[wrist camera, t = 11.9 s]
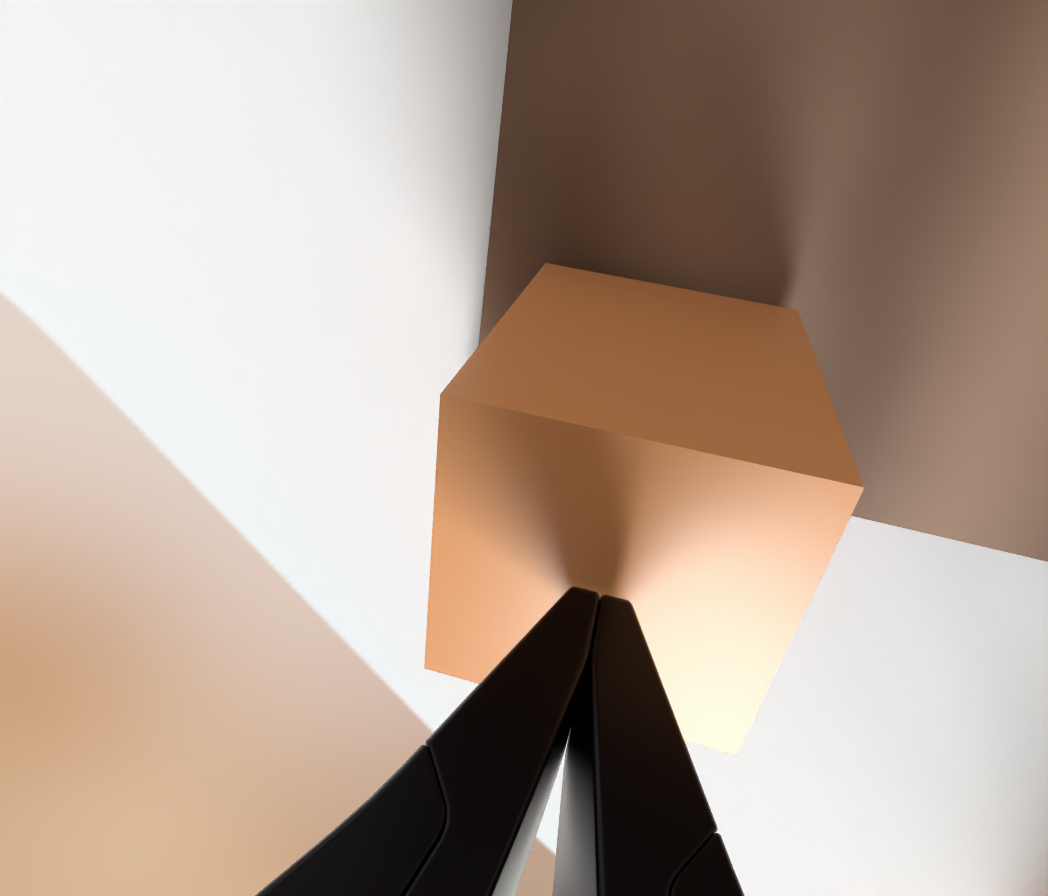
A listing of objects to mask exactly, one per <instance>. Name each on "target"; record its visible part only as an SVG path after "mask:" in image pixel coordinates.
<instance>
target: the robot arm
mask: <svg viewBox="0 0 1048 896" xmlns="http://www.w3.org/2000/svg"><path fill="white" fill-rule="evenodd" d="M568 736H569V737H568ZM567 740H568V742H567ZM566 743H567V748H566V754H565V763H564V771H563V783H562V794H561V805H560V816H559V828H558V839H557V850H556V862H555V873H554V884H553V896H744V893H743V891H742V888H741V886H740V883H739V881H738V879H737V876H736V874H735V871H734V869H733V866H732V864H731V861H730V858H729V856H728V853H727V851H726V848H725V845H724V843H723V840H722V837H721V835H720V834H718V833H716V832H717V825H716V822H715V820H714V817H713V815H712V812H711V809H710V807H709V804H708V802H707V799H706V796H705V794H704V791H703V788H702V786H701V783H700V781H699V778H698V775H697V773H696V770H695V767H694V765H693V762H692V760H691V757H690V754H689V752H688V749H687V747H686V744H685V741H684V739H683V736H682V733H681V731H680V728H679V726H678V723H677V720H676V718H675V715H674V712H673V710H672V707H671V705H670V702H669V699H668V697H667V694H666V691H665V689H664V686H663V684H662V681H661V678H660V676H659V673H658V671H657V668H656V665H655V663H654V660H653V657H652V655H651V652H650V650H649V647H648V644H647V642H646V639H645V636H644V634H643V631H642V629H641V626H640V623H639V621H638V618H637V615H636V613H635V610H634V608H633V605H632V603H631V602H630V601H628V600H626V599H622V598H618V597H614V596H610V595H606V594H605V595H602V596H601V598H600V596H599V594H598V593H597V592H595V591H591V590H587V589H583V588H580V587H576V586H574V587H571V588H569V589H568V590H567V591H566V592H565V593H564V594H563V595H562V596H561V598H560V599H559V600H558V601H557V602H556V603H555V604H554V605H553V606H552V607H551V608H550V609H549V610H548V611H547V612H546V614H545V615H544V616H543V617H542V618H541V619H540V620H539V621H538V622H537V623H536V624H535V625H534V626H533V627H532V628H531V629H530V631H529V632H528V633H527V634H526V635H525V636H524V637H523V638H522V639H521V640H520V641H519V642H518V643H517V644H516V645H515V647H514V648H513V649H512V650H511V651H510V652H509V653H508V654H507V655H506V656H505V657H504V658H503V659H502V660H501V661H500V663H499V664H498V665H497V666H496V667H495V668H494V669H493V670H492V671H491V672H490V673H489V674H488V675H487V676H486V677H485V679H484V680H483V681H482V682H481V683H480V684H479V685H478V686H477V687H476V688H475V689H474V690H473V691H472V692H471V693H470V694H469V696H468V697H467V698H466V699H465V700H464V701H463V702H462V703H461V704H460V705H459V706H458V707H457V708H456V709H455V710H454V712H453V713H452V714H451V715H450V716H449V717H448V718H447V719H446V720H445V721H444V722H443V723H442V724H441V725H440V726H439V728H438V729H437V730H436V731H435V732H434V733H433V734H432V735H431V736H430V737H429V738H428V739H427V741H426V745H422V746H420V747H419V748H418V749H417V751H416V752H415V753H414V754H413V755H412V756H411V757H410V758H409V759H408V760H407V761H406V762H405V763H404V764H403V765H402V767H401V768H400V769H399V770H398V771H397V772H396V773H395V774H394V775H393V776H392V777H390V778H389V779H388V780H387V782H385V783H384V784H383V785H382V786H381V787H380V788H379V789H378V790H377V791H376V792H375V793H374V794H373V795H372V796H371V797H370V798H369V799H368V800H367V801H366V802H365V803H364V804H363V805H361V806H360V807H359V808H358V809H357V810H356V811H355V812H354V813H352V814H351V815H350V816H349V817H348V818H347V819H346V820H345V821H343V822H342V823H341V824H340V825H339V826H338V827H337V828H335V829H334V830H333V831H332V832H331V833H330V834H328V835H327V836H326V837H325V838H324V839H322V840H321V841H320V842H319V843H318V844H316V846H314V847H313V848H312V849H310V850H309V851H308V852H307V853H306V854H305V855H303V856H302V857H301V858H300V859H299V860H297V861H296V862H295V863H294V864H293V865H291V866H290V867H289V868H288V869H287V870H286V871H284V872H283V873H282V874H281V875H280V876H278V877H277V878H276V879H275V880H273V881H272V882H271V883H270V884H269V885H267V886H266V887H265V888H264V889H263V890H262V891H260V892H259V893H258V894H257V895H256V896H515V894H516V891H517V888H518V885H519V882H520V879H521V876H522V874H523V871H524V867H525V864H526V862H527V859H528V856H529V853H530V851H531V848H532V845H533V842H534V839H535V836H536V833H537V830H538V828H539V825H540V822H541V819H542V816H543V813H544V810H545V807H546V805H547V802H548V799H549V796H550V793H551V790H552V787H553V784H554V782H555V779H556V776H557V773H558V770H559V767H560V764H561V761H562V757H563V754H564V751H565V747H566Z"/></svg>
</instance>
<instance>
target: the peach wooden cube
mask: <svg viewBox="0 0 1048 896" xmlns="http://www.w3.org/2000/svg"><path fill="white" fill-rule="evenodd" d="M863 490H864V485H863V482H862V480H861V477H860V474H859V472H858V469H857V466H856V464H855V461H854V459H853V456H852V453H851V451H850V448H849V445H848V443H847V440H846V437H845V435H844V432H843V429H842V427H841V424H840V422H839V419H838V416H837V414H836V411H835V408H834V406H833V403H832V400H831V398H830V395H829V392H828V390H827V387H826V385H825V382H824V379H823V377H822V374H821V371H820V369H819V366H818V363H817V361H816V358H815V355H814V353H813V350H812V348H811V345H810V342H809V340H808V337H807V334H806V332H805V329H804V326H803V324H802V321H801V318H800V316H799V313H798V311H797V310H795V309H790V308H784V307H779V306H773V305H768V304H763V303H757V302H752V301H747V300H741V299H736V298H731V297H725V296H720V295H715V294H709V293H704V292H698V291H693V290H688V289H682V288H677V287H672V286H666V285H661V284H656V283H650V282H645V281H640V280H634V279H629V278H623V277H618V276H613V275H607V274H602V273H597V272H591V271H586V270H581V269H575V268H570V267H565V266H559V265H554V264H549V263H545V264H544V266H543V267H542V268H541V269H540V271H539V272H538V273H537V274H536V276H535V277H534V278H533V279H532V281H531V282H530V283H529V284H528V286H527V287H526V288H525V289H524V291H523V292H522V293H521V294H520V296H519V297H518V298H517V299H516V301H515V302H514V303H513V304H512V306H511V307H510V308H509V309H508V311H507V312H506V313H505V314H504V316H503V317H502V318H501V319H500V321H499V322H498V323H497V324H496V326H495V327H494V328H493V329H492V330H491V332H490V333H489V334H488V335H487V337H486V338H485V339H484V340H483V342H482V343H481V344H480V345H479V347H478V348H477V349H476V350H475V352H474V353H473V354H472V355H471V357H470V358H469V359H468V360H467V362H466V363H465V364H464V365H463V367H462V368H461V369H460V370H459V372H458V373H457V374H456V375H455V377H454V378H453V379H452V380H451V382H450V383H449V384H448V385H447V387H446V388H445V389H444V390H443V392H442V393H441V394H440V409H439V426H438V444H437V461H436V478H435V495H434V512H433V530H432V547H431V564H430V581H429V598H428V615H427V633H426V650H425V667H424V668H425V669H429V670H432V671H436V672H439V673H443V674H447V675H450V676H454V677H457V678H461V679H464V680H468V681H471V682H475V683H479V684H480V683H481V682H482V681H483V680H484V679H485V677H486V676H487V675H488V674H489V673H490V672H491V671H492V670H493V669H494V668H495V667H496V666H497V665H498V664H499V663H500V661H501V660H502V659H503V658H504V657H505V656H506V655H507V654H508V653H509V652H510V651H511V650H512V649H513V648H514V647H515V645H516V644H517V643H518V642H519V641H520V640H521V639H522V638H523V637H524V636H525V635H526V634H527V633H528V632H529V631H530V629H531V628H532V627H533V626H534V625H535V624H536V623H537V622H538V621H539V620H540V619H541V618H542V617H543V616H544V615H545V614H546V612H547V611H548V610H549V609H550V608H551V607H552V606H553V605H554V604H555V603H556V602H557V601H558V600H559V599H560V598H561V596H562V595H563V594H564V593H565V592H566V591H567V590H568V589H569V588H571V587H574V586H576V587H580V588H583V589H587V590H591V591H595V592H597V593H598V594H599V596H600V598H601V596H602V595H605V594H606V595H610V596H614V597H618V598H622V599H626V600H628V601H630V602H631V603H632V605H633V608H634V610H635V613H636V615H637V618H638V621H639V623H640V626H641V629H642V631H643V634H644V636H645V639H646V642H647V644H648V647H649V650H650V652H651V655H652V657H653V660H654V663H655V665H656V668H657V671H658V673H659V676H660V678H661V681H662V684H663V686H664V689H665V691H666V694H667V697H668V699H669V702H670V705H671V707H672V710H673V712H674V715H675V718H676V720H677V723H678V726H679V728H680V731H681V733H682V736H683V739H684V741H685V742H689V743H693V744H696V745H700V746H703V747H707V748H710V749H714V750H717V751H721V752H725V753H728V754H732V755H735V756H737V754H738V752H739V749H740V747H741V745H742V743H743V741H744V739H745V737H746V735H747V733H748V731H749V728H750V726H751V724H752V722H753V720H754V718H755V716H756V714H757V712H758V710H759V708H760V705H761V703H762V701H763V699H764V697H765V695H766V693H767V691H768V689H769V687H770V684H771V682H772V680H773V678H774V676H775V674H776V672H777V670H778V668H779V666H780V664H781V661H782V659H783V657H784V655H785V653H786V651H787V649H788V647H789V645H790V643H791V640H792V638H793V636H794V634H795V632H796V630H797V628H798V626H799V624H800V622H801V620H802V617H803V615H804V613H805V611H806V609H807V607H808V605H809V603H810V601H811V599H812V596H813V594H814V592H815V590H816V588H817V586H818V584H819V582H820V580H821V578H822V576H823V573H824V571H825V569H826V567H827V565H828V563H829V561H830V559H831V557H832V555H833V552H834V550H835V548H836V546H837V544H838V542H839V540H840V538H841V536H842V534H843V532H844V529H845V527H846V525H847V523H848V521H849V519H850V517H851V515H852V513H853V511H854V508H855V506H856V504H857V502H858V500H859V498H860V496H861V494H862V492H863Z"/></svg>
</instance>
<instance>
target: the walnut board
mask: <svg viewBox="0 0 1048 896" xmlns="http://www.w3.org/2000/svg"><path fill="white" fill-rule="evenodd" d="M545 263H549V264H554V265H559V266H565V267H570V268H575V269H581V270H586V271H591V272H597V273H602V274H607V275H613V276H618V277H623V278H629V279H634V280H640V281H645V282H650V283H656V284H661V285H666V286H672V287H677V288H682V289H688V290H693V291H698V292H704V293H709V294H715V295H720V296H725V297H731V298H736V299H741V300H747V301H752V302H757V303H763V304H768V305H773V306H779V307H784V308H790V309H795V310H797V311H798V313H799V316H800V318H801V321H802V324H803V326H804V329H805V332H806V334H807V337H808V340H809V342H810V345H811V348H812V350H813V353H814V355H815V358H816V361H817V363H818V366H819V369H820V371H821V374H822V377H823V379H824V382H825V385H826V387H827V390H828V392H829V395H830V398H831V400H832V403H833V406H834V408H835V411H836V414H837V416H838V419H839V422H840V424H841V427H842V429H843V432H844V435H845V437H846V440H847V443H848V445H849V448H850V451H851V453H852V456H853V459H854V461H855V464H856V466H857V469H858V472H859V474H860V477H861V480H862V482H863V485H864V490H863V492H862V494H861V496H860V498H859V500H858V502H857V504H856V506H855V508H854V511H853V513H852V515H851V516H855V517H860V518H864V519H868V520H872V521H877V522H881V523H885V524H889V525H894V526H898V527H902V528H907V529H911V530H915V531H919V532H924V533H928V534H932V535H936V536H941V537H945V538H949V539H954V540H958V541H962V542H966V543H971V544H975V545H979V546H983V547H988V548H992V549H996V550H1001V551H1005V552H1009V553H1013V554H1018V555H1022V556H1026V557H1031V558H1035V559H1039V560H1043V561H1048V0H513V3H512V13H511V23H510V34H509V44H508V54H507V64H506V74H505V84H504V94H503V105H502V115H501V125H500V135H499V145H498V155H497V166H496V176H495V186H494V196H493V206H492V216H491V226H490V237H489V247H488V257H487V267H486V277H485V287H484V297H483V308H482V318H481V328H480V338H479V345H480V344H481V343H482V342H483V340H484V339H485V338H486V337H487V335H488V334H489V333H490V332H491V330H492V329H493V328H494V327H495V326H496V324H497V323H498V322H499V321H500V319H501V318H502V317H503V316H504V314H505V313H506V312H507V311H508V309H509V308H510V307H511V306H512V304H513V303H514V302H515V301H516V299H517V298H518V297H519V296H520V294H521V293H522V292H523V291H524V289H525V288H526V287H527V286H528V284H529V283H530V282H531V281H532V279H533V278H534V277H535V276H536V274H537V273H538V272H539V271H540V269H541V268H542V267H543V266H544V264H545Z"/></svg>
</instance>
